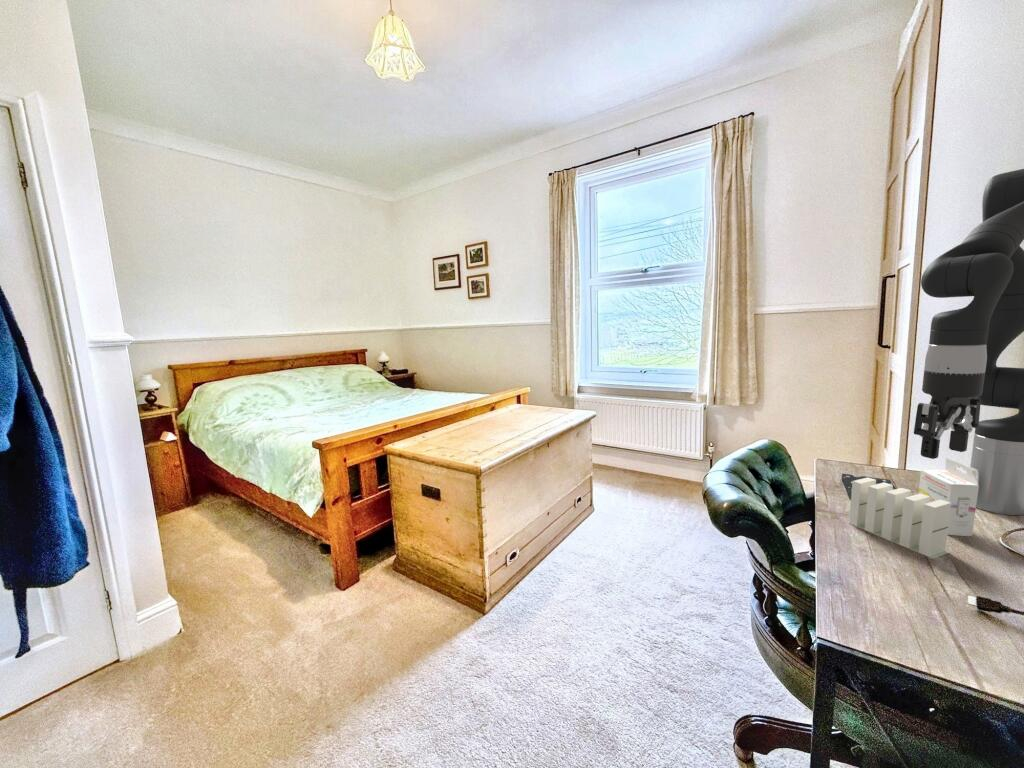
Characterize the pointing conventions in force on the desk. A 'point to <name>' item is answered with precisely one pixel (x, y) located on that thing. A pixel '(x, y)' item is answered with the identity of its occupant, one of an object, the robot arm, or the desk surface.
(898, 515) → the domino
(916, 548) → the felt strip
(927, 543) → the domino
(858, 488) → the domino
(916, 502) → the domino
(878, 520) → the domino
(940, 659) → the desk surface
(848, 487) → the disk drive
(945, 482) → the ink cartridge box
